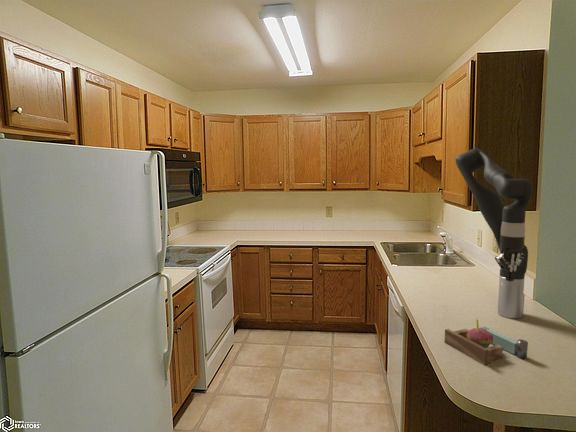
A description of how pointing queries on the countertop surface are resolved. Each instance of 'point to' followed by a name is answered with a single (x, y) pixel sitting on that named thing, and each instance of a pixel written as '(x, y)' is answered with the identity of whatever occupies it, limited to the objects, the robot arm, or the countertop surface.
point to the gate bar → (503, 341)
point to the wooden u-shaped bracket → (472, 347)
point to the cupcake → (480, 336)
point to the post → (522, 349)
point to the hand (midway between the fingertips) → (509, 280)
